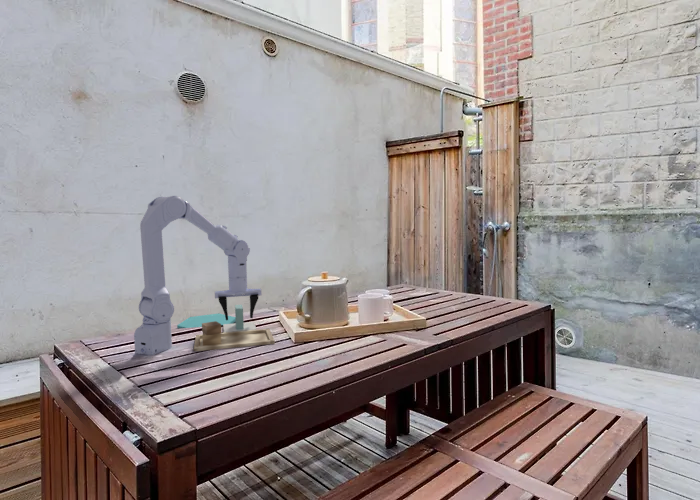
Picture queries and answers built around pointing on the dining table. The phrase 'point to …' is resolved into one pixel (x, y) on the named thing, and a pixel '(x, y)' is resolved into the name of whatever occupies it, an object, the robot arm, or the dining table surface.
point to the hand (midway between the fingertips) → (239, 318)
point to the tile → (246, 327)
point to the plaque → (205, 320)
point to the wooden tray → (237, 340)
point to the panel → (239, 317)
